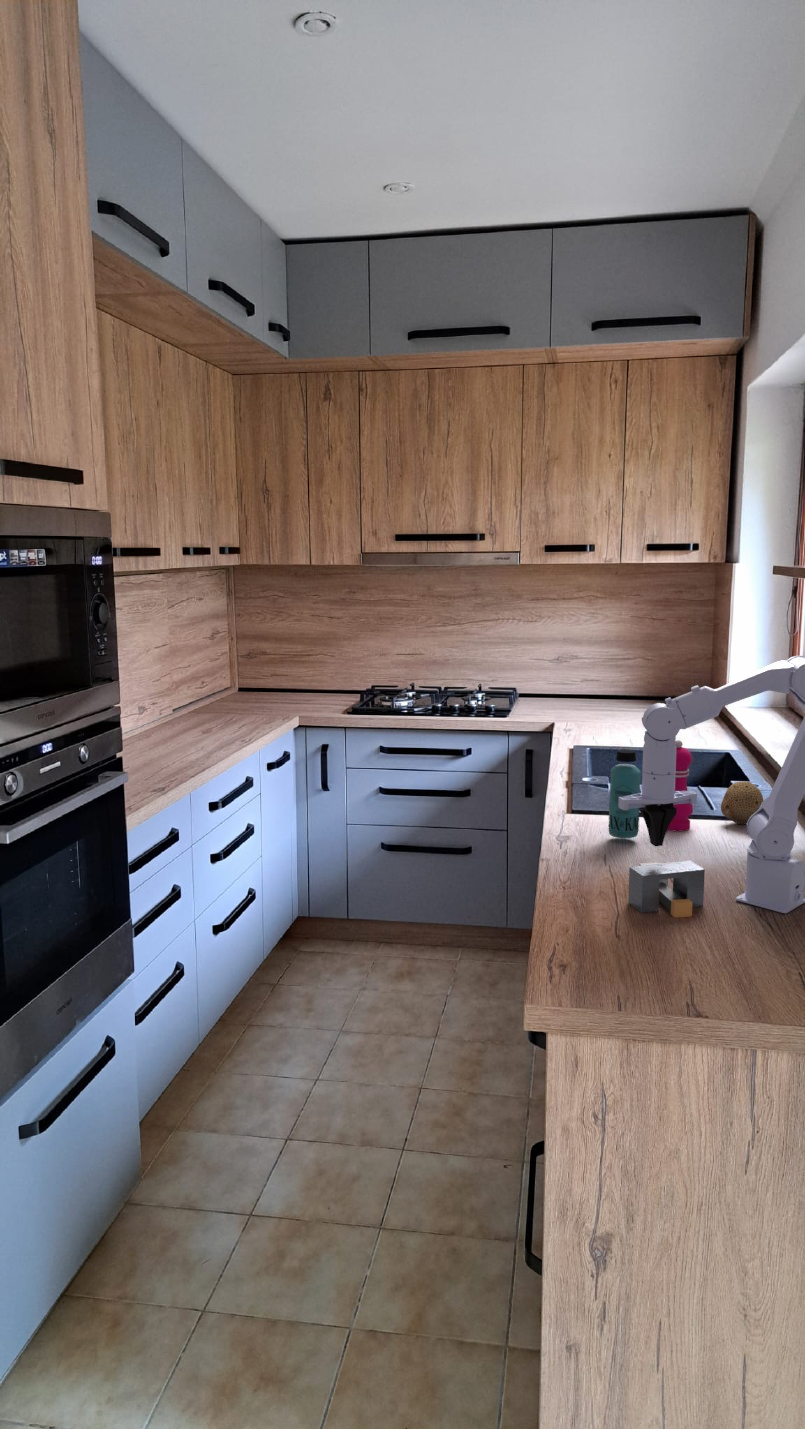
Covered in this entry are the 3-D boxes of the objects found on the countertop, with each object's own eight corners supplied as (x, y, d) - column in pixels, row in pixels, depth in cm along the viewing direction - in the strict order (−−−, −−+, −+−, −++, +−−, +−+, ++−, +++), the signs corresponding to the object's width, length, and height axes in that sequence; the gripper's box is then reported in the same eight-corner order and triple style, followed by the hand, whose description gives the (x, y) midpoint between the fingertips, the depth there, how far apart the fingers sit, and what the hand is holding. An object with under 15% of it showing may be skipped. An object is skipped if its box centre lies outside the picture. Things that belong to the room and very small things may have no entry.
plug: (694, 916, 170) (695, 891, 169) (672, 917, 170) (673, 892, 169) (658, 884, 185) (659, 862, 185) (638, 886, 185) (639, 863, 184)
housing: (703, 905, 175) (704, 869, 173) (641, 913, 172) (642, 876, 171) (688, 895, 180) (689, 860, 178) (628, 902, 177) (629, 866, 175)
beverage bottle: (605, 836, 215) (607, 746, 211) (636, 835, 215) (638, 746, 211) (610, 845, 209) (612, 753, 205) (642, 845, 208) (644, 753, 205)
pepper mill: (680, 834, 215) (683, 745, 212) (652, 827, 221) (654, 740, 217) (698, 827, 220) (702, 740, 216) (670, 820, 225) (673, 735, 222)
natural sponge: (773, 827, 219) (775, 783, 218) (743, 832, 216) (745, 789, 214) (742, 816, 227) (744, 775, 226) (713, 822, 224) (715, 779, 222)
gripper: (683, 763, 181) (680, 834, 183) (611, 769, 177) (609, 841, 180) (704, 772, 174) (701, 845, 176) (630, 778, 170) (627, 853, 173)
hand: (656, 844), depth 178 cm, fingers closed
